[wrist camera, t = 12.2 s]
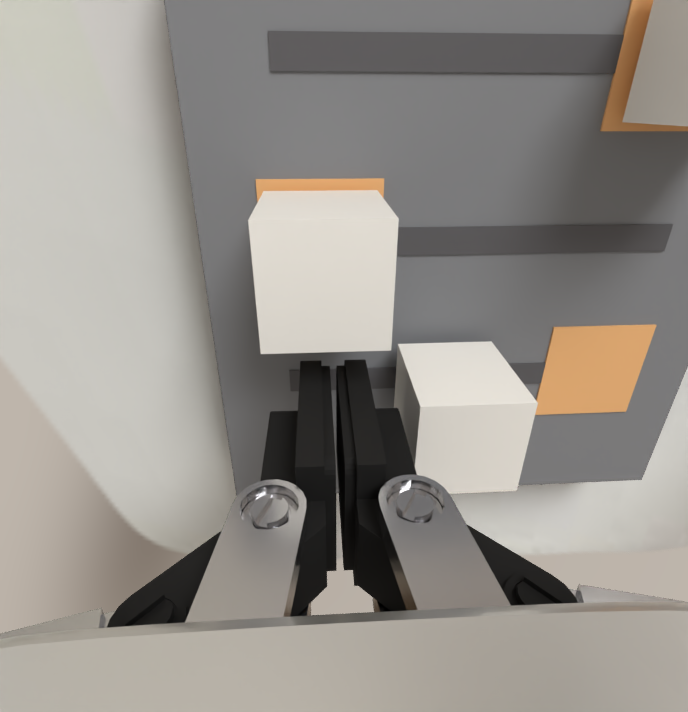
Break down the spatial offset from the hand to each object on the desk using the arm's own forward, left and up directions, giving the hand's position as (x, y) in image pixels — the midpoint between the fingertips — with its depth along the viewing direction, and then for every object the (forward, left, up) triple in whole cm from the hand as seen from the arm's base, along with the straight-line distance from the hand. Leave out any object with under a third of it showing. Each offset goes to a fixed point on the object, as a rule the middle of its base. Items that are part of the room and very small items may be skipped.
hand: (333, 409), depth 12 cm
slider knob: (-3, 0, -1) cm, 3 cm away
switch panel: (-4, -4, -4) cm, 7 cm away
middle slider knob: (0, -4, -1) cm, 4 cm away
